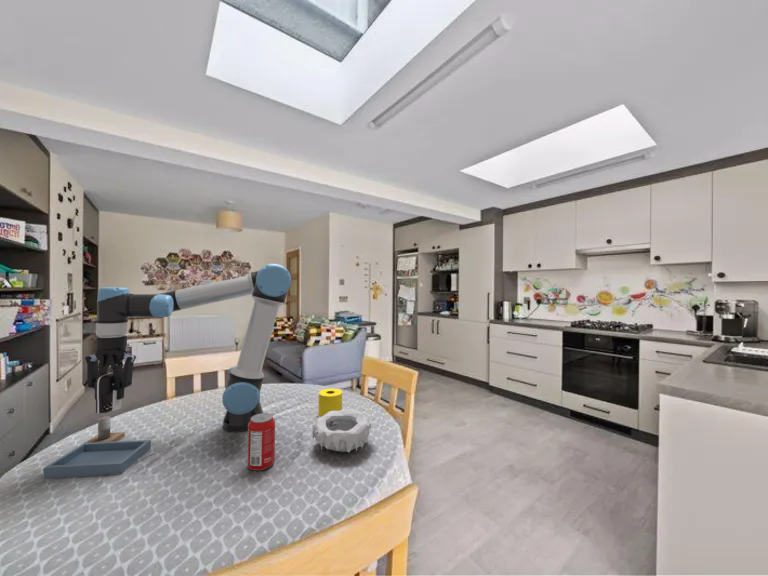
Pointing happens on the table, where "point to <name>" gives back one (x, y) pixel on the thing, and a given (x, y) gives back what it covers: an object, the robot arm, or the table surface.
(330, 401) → the tape roll
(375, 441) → the table surface
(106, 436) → the wooden base with post
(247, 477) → the table surface
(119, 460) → the parts tray
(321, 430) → the bowl
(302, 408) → the table surface
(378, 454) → the table surface
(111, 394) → the battery charger
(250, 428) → the soda can
